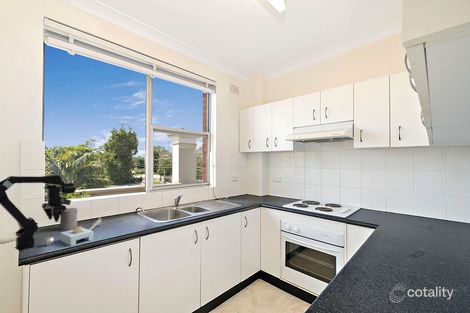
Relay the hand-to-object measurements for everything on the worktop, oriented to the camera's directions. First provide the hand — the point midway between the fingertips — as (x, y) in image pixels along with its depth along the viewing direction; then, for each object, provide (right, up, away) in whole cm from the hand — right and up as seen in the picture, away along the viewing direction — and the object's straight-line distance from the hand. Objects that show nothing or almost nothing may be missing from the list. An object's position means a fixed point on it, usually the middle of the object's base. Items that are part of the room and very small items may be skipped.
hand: (53, 220), depth 133 cm
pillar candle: (-8, -12, +22) cm, 26 cm away
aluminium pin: (+4, -12, -7) cm, 15 cm away
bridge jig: (+14, -12, 0) cm, 19 cm away
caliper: (+11, -13, +21) cm, 27 cm away
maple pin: (+14, -12, 0) cm, 19 cm away
